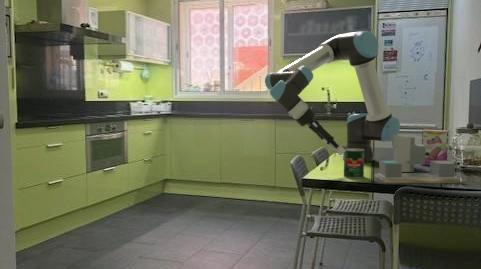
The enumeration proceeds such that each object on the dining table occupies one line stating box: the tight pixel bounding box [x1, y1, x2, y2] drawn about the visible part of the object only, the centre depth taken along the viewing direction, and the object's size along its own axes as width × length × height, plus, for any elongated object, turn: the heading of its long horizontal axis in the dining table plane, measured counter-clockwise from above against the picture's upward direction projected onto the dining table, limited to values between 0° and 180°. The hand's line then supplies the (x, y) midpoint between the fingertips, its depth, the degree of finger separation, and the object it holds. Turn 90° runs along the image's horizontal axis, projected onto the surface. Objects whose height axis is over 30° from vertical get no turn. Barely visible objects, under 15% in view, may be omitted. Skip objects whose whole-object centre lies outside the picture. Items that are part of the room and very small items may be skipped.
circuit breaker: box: [391, 134, 429, 173], centre depth 201 cm, size 8×14×15 cm, turn 78°
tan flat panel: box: [375, 172, 459, 180], centre depth 181 cm, size 10×28×1 cm, turn 90°
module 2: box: [429, 161, 456, 177], centre depth 181 cm, size 8×6×5 cm
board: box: [374, 173, 462, 184], centre depth 181 cm, size 14×28×1 cm, turn 90°
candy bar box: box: [420, 129, 451, 167], centre depth 216 cm, size 11×5×16 cm, turn 57°
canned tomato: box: [343, 148, 365, 179], centre depth 189 cm, size 8×8×11 cm
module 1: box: [378, 160, 402, 177], centre depth 181 cm, size 8×6×5 cm
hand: (339, 151), depth 188 cm, fingers open, 13 cm apart
